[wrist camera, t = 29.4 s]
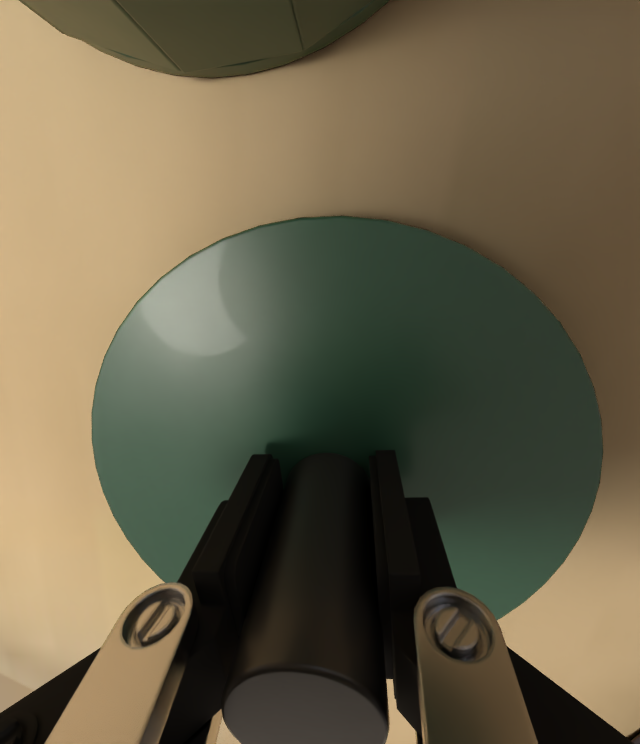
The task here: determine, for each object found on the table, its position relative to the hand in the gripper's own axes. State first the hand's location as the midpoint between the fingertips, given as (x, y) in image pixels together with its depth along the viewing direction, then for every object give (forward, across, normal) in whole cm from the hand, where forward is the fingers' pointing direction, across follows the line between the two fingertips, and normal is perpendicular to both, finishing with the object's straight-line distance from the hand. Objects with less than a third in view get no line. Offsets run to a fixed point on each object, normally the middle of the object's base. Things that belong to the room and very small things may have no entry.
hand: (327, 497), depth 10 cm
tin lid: (+1, 0, 0) cm, 1 cm away
